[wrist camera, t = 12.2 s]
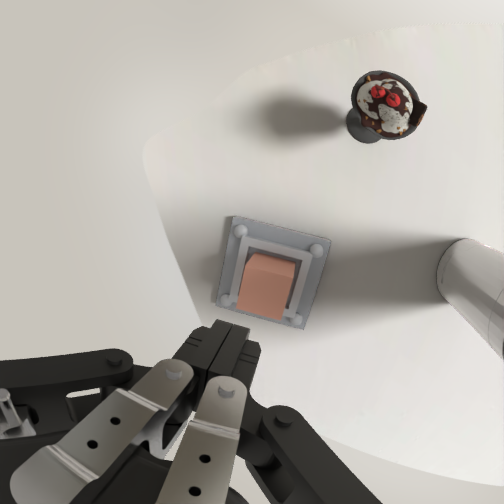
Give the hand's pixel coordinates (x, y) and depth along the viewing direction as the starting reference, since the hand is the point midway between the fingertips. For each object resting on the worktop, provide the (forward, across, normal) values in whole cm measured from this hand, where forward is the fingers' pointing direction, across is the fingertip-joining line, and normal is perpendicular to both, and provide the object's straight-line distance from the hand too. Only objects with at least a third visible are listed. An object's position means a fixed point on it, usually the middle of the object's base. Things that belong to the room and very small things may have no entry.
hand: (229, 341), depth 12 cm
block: (+23, 0, +5) cm, 24 cm away
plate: (+25, 0, +5) cm, 25 cm away
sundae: (+25, -7, -16) cm, 30 cm away
